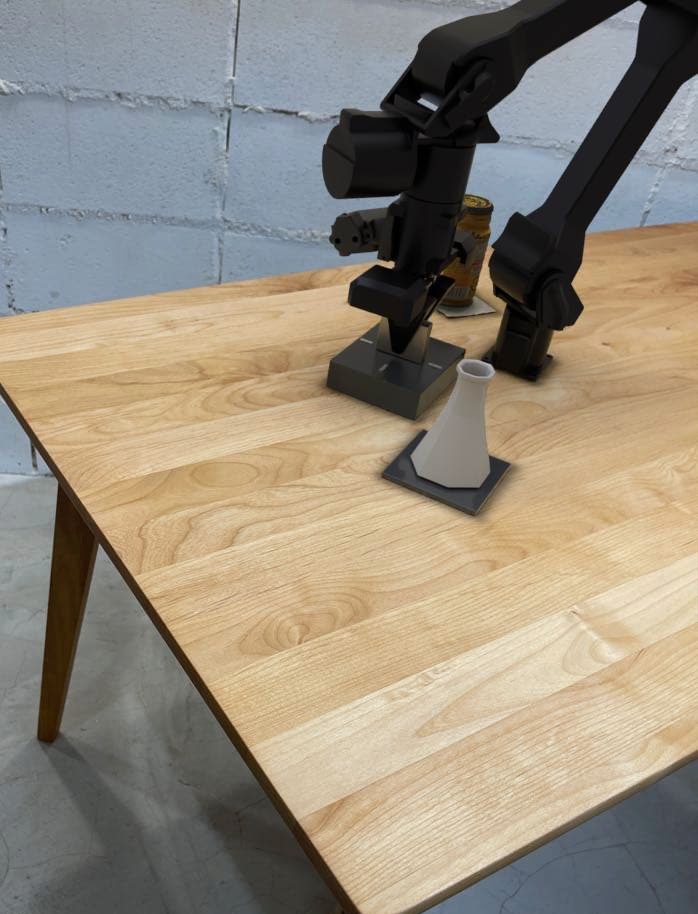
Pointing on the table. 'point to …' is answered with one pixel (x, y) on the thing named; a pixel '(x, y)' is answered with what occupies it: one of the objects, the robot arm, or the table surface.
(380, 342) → the knob
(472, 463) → the flask
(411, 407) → the panel
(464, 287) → the condiment
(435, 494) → the coaster
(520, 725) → the table surface
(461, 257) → the robot arm
